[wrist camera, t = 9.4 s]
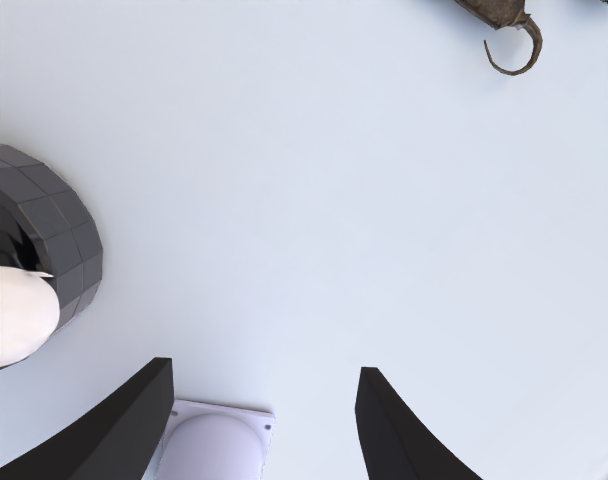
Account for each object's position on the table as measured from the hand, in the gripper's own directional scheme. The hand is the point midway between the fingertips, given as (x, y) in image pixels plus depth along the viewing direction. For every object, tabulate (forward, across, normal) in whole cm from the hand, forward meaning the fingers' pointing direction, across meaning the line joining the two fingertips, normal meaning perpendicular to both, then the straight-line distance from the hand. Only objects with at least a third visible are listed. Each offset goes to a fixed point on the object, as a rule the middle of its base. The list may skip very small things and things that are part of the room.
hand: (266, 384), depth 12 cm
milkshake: (+8, +17, -2) cm, 19 cm away
